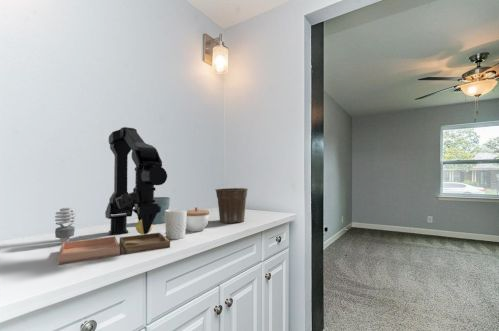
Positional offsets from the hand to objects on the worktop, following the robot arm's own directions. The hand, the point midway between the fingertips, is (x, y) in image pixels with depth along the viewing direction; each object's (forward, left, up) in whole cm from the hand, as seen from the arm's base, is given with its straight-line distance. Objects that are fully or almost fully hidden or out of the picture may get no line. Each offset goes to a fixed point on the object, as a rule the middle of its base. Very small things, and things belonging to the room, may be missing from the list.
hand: (144, 231), depth 84 cm
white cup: (-5, +12, -5) cm, 14 cm away
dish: (0, -15, -4) cm, 16 cm away
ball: (0, 0, -1) cm, 1 cm away
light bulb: (-17, -22, -4) cm, 28 cm away
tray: (0, 0, -4) cm, 4 cm away
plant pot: (-22, +45, -5) cm, 50 cm away
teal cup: (-39, +14, -5) cm, 42 cm away
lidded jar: (-13, +23, -5) cm, 27 cm away
